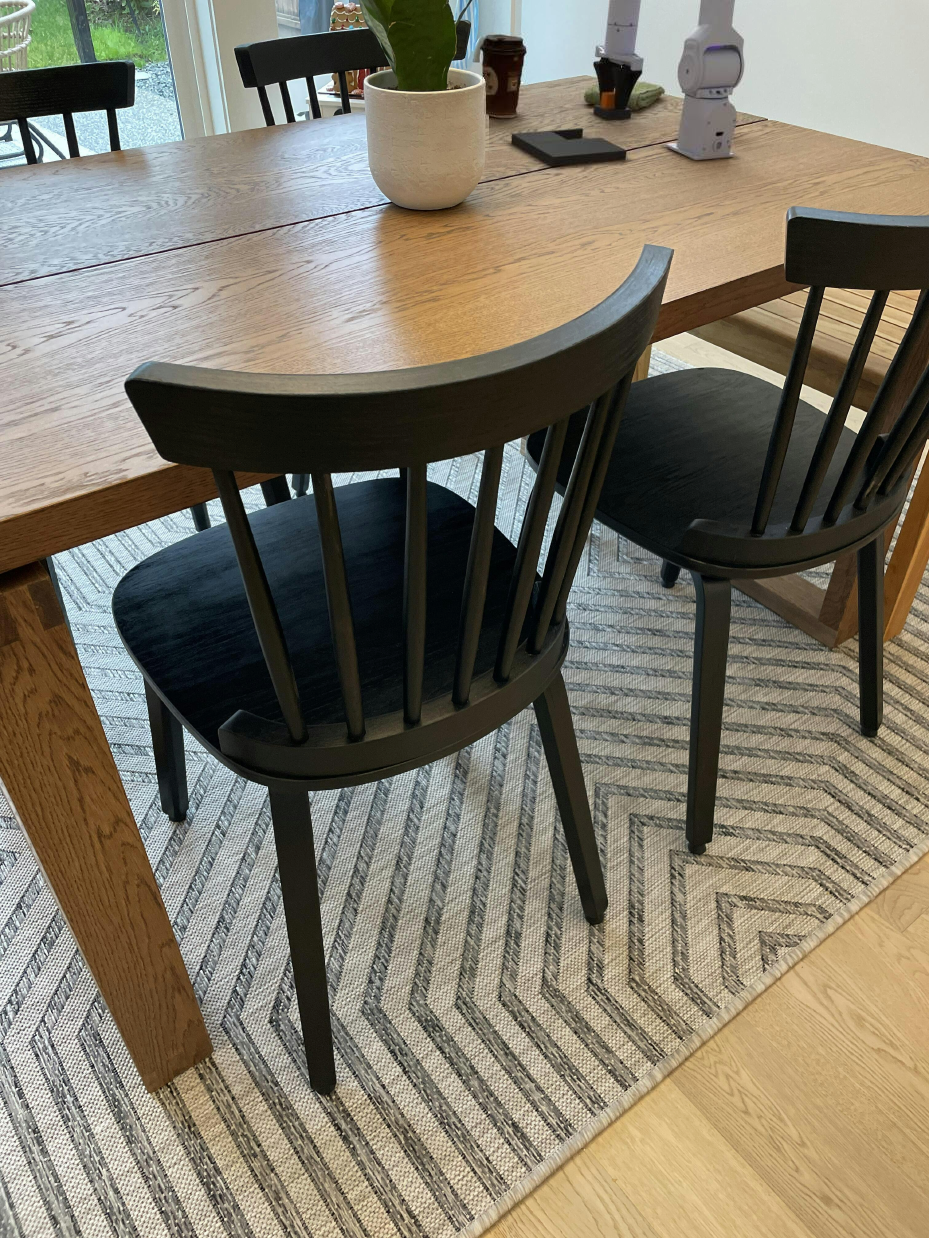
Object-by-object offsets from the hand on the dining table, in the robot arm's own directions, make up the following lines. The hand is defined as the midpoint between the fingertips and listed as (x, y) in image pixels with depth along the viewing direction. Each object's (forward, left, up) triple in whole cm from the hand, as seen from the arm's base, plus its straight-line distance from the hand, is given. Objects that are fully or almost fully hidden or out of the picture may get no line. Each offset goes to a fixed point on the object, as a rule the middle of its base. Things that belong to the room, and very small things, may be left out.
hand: (613, 106), depth 179 cm
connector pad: (0, 0, -2) cm, 2 cm away
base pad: (-21, +21, -2) cm, 30 cm away
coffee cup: (+7, +21, -2) cm, 22 cm away
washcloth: (+11, -9, -2) cm, 14 cm away
